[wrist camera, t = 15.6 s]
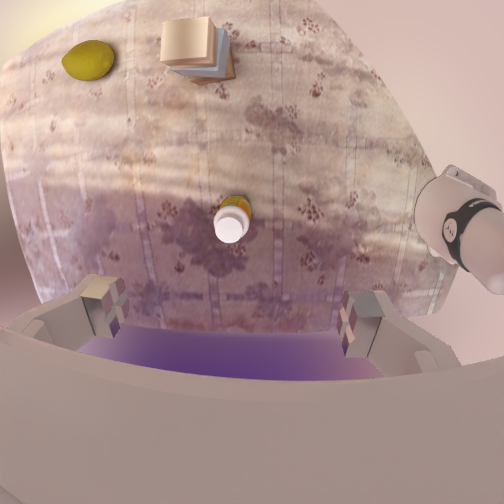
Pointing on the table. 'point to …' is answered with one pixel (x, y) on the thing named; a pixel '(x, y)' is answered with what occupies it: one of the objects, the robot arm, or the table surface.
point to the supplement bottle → (232, 219)
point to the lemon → (88, 60)
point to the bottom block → (229, 75)
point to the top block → (221, 60)
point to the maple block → (189, 43)
